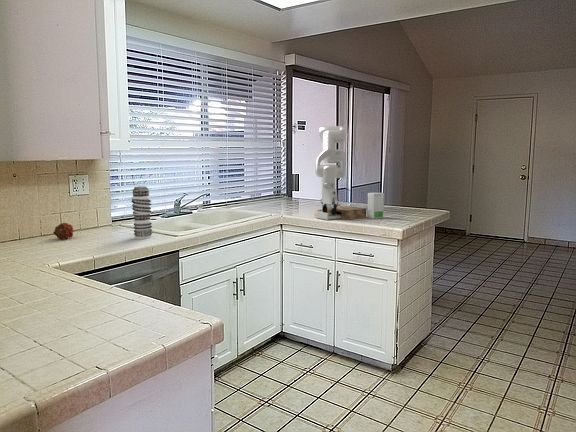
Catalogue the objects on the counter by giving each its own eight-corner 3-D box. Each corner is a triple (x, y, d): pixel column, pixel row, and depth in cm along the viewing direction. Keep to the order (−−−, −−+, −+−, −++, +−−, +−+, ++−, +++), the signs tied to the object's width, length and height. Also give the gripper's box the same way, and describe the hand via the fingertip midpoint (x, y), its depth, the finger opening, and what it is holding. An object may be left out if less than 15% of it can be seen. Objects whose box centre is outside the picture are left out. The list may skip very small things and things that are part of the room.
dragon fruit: (64, 244, 219) (62, 243, 229) (79, 232, 223) (75, 232, 233) (51, 230, 216) (49, 231, 226) (66, 219, 220) (63, 219, 230)
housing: (346, 213, 302) (346, 205, 301) (366, 217, 285) (366, 208, 284) (326, 215, 294) (326, 207, 293) (345, 219, 277) (345, 210, 276)
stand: (318, 214, 298) (318, 209, 298) (322, 215, 295) (322, 210, 294) (313, 215, 296) (313, 210, 296) (317, 216, 292) (317, 210, 292)
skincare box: (373, 218, 279) (373, 193, 276) (366, 217, 284) (366, 192, 282) (384, 217, 282) (384, 192, 280) (377, 216, 288) (377, 192, 286)
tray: (334, 215, 293) (334, 209, 292) (346, 217, 282) (346, 211, 281) (314, 217, 285) (314, 211, 285) (327, 219, 274) (327, 213, 274)
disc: (330, 215, 287) (330, 212, 287) (337, 216, 282) (337, 213, 281) (321, 216, 284) (321, 212, 284) (327, 217, 278) (327, 214, 278)
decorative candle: (129, 238, 223) (126, 187, 219) (139, 235, 232) (136, 186, 228) (147, 239, 221) (144, 187, 218) (156, 235, 230) (153, 186, 227)
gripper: (342, 186, 275) (342, 214, 277) (326, 184, 289) (326, 211, 292) (332, 187, 271) (332, 215, 273) (316, 185, 286) (316, 212, 288)
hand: (329, 213), depth 283 cm, fingers open, 9 cm apart
